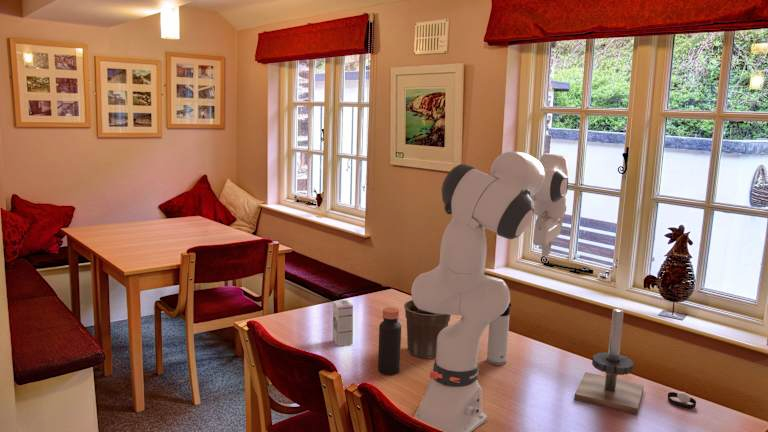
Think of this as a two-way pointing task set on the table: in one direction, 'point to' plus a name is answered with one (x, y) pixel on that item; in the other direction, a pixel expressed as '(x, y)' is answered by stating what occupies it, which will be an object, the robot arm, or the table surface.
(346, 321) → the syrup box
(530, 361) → the table surface
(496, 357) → the travel mug
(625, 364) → the grey gear
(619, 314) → the metallic rounded rod
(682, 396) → the watch
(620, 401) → the stand
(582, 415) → the table surface
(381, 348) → the bottle
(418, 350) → the plant pot
